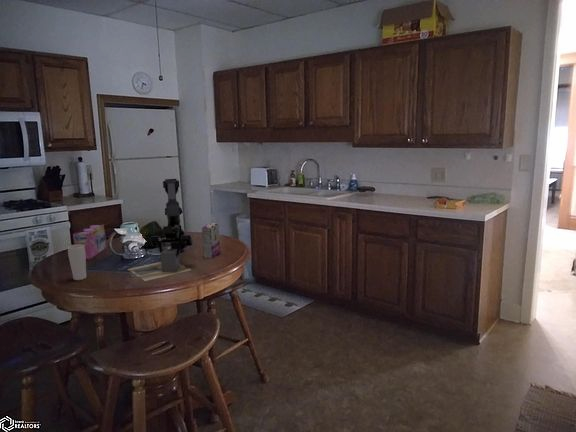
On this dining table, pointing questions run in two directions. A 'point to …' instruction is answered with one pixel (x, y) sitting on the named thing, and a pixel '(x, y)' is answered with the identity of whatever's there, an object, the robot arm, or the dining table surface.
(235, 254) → the dining table surface
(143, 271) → the birch board
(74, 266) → the drinking glass
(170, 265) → the charcoal cover
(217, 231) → the candy bar box
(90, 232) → the gum box
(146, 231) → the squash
